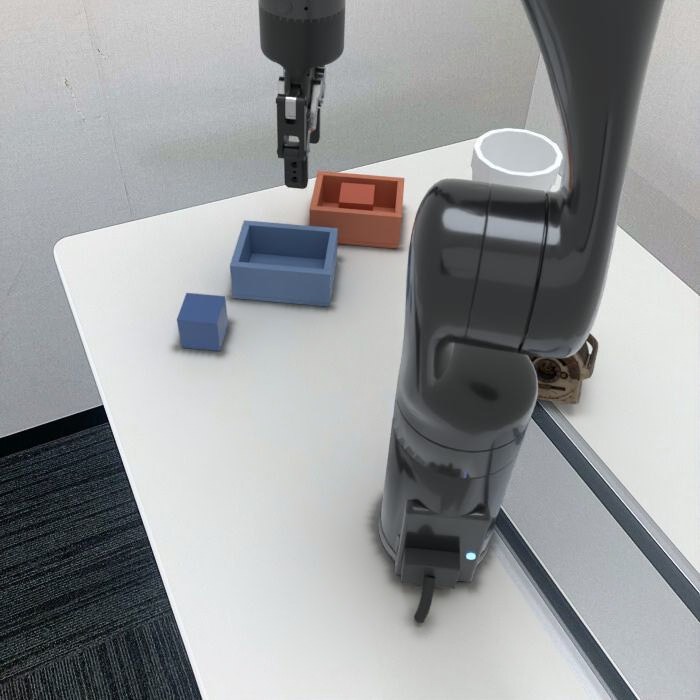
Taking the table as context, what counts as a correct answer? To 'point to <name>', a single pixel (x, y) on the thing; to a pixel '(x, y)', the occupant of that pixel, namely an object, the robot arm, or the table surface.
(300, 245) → the blue bin
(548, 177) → the foam cup
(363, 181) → the terracotta bin
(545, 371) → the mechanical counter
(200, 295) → the slate block
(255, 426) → the table surface
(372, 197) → the terracotta block
